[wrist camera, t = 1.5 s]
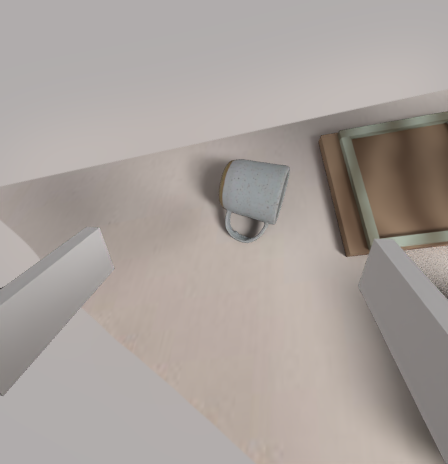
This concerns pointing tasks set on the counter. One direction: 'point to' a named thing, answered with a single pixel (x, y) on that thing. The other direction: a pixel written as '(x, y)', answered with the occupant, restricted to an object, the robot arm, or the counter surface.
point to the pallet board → (390, 182)
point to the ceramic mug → (253, 192)
